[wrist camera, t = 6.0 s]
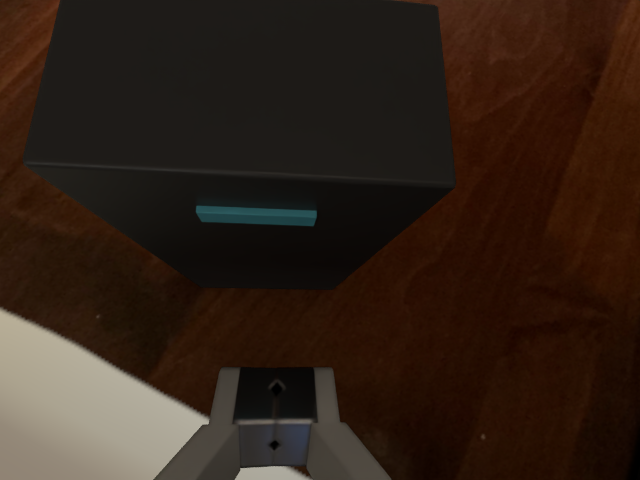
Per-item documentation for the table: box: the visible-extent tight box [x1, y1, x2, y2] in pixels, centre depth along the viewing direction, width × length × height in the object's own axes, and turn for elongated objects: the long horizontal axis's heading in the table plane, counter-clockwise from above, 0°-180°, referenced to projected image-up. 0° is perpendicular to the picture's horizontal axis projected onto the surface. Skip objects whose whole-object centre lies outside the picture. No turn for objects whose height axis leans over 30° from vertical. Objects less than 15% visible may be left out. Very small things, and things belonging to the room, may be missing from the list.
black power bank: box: [23, 0, 456, 290], centre depth 13 cm, size 4×7×14 cm, turn 90°
